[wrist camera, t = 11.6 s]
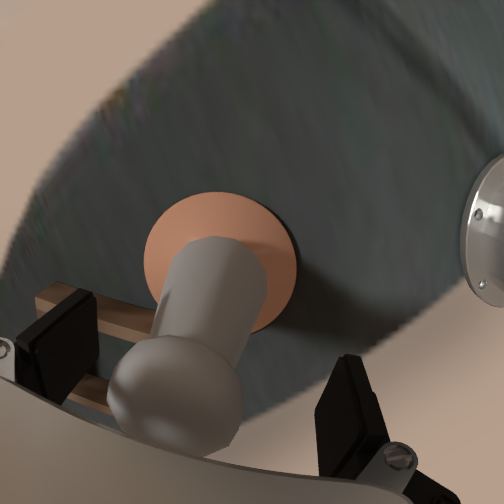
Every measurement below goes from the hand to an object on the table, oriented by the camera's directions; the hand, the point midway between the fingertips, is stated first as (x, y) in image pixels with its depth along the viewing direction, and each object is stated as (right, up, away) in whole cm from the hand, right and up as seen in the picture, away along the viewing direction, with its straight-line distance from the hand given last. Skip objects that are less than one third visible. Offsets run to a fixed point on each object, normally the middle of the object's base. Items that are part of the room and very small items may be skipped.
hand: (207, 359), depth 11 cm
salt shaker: (0, +3, +9) cm, 10 cm away
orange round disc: (-1, +3, +10) cm, 10 cm away
